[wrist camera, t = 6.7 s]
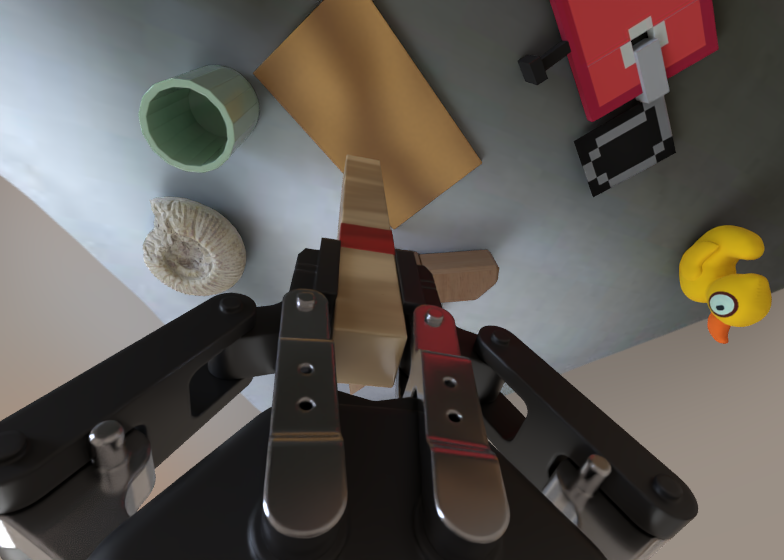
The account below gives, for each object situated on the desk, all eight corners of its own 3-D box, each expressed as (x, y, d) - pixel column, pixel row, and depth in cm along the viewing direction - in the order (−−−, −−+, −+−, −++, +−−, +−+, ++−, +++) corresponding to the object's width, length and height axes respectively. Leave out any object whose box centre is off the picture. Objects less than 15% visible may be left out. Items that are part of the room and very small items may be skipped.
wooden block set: (322, 284, 40) (504, 270, 41) (325, 255, 45) (488, 243, 46) (341, 402, 49) (489, 389, 50) (342, 368, 54) (477, 356, 55)
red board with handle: (571, 203, 43) (717, 124, 40) (584, 213, 41) (740, 130, 38) (441, -141, 29) (654, -308, 26) (449, -157, 26) (685, -343, 23)
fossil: (110, 209, 36) (229, 198, 38) (125, 194, 39) (234, 185, 41) (153, 311, 42) (253, 299, 44) (163, 291, 45) (256, 280, 47)
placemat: (351, -29, 32) (351, -29, 31) (480, 161, 40) (482, 163, 40) (254, 72, 35) (252, 73, 34) (393, 227, 44) (394, 229, 43)
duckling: (690, 298, 52) (754, 353, 44) (650, 297, 51) (708, 352, 43) (739, 215, 46) (824, 260, 37) (694, 212, 45) (771, 257, 37)
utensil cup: (217, 47, 34) (177, 57, 26) (274, 109, 37) (253, 134, 29) (170, 99, 35) (119, 122, 28) (228, 154, 38) (196, 189, 31)
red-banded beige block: (346, 153, 24) (332, 327, 11) (380, 160, 24) (409, 336, 11) (341, 186, 25) (323, 383, 12) (374, 192, 26) (393, 390, 12)
